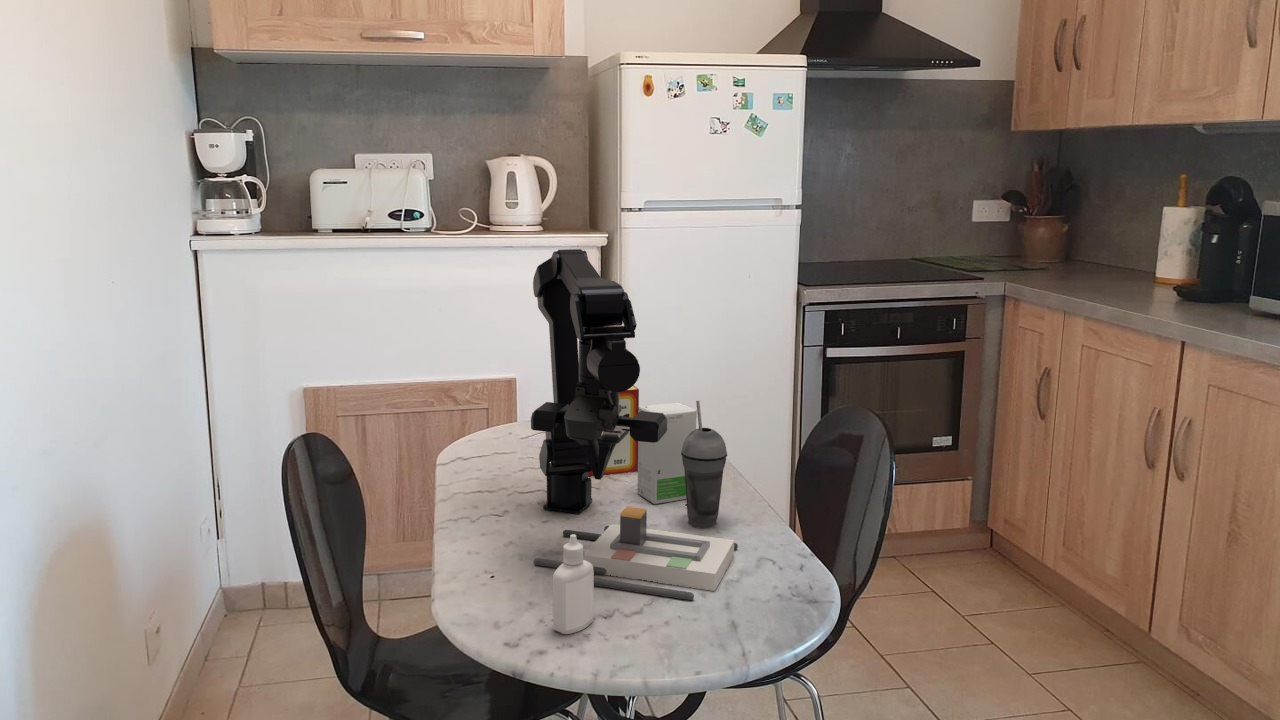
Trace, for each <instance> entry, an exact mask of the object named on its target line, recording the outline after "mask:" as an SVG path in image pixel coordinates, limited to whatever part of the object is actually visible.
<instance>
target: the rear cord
mask: <svg viewBox="0 0 1280 720" xmlns="http://www.w3.org/2000/svg"><path fill="white" fill-rule="evenodd" d="M609 526H610V525H606V526H604V529H603V530H604V531H605V530H606V529H607V528H608V527H609ZM572 534H574V535H576V538H577V539H583V540H590V541H596V540H597V539H598V538H599V537H600V536H601V535H602V534H603V533H602V534H600V533H593V532H588V531H587V532H586V531H577V530H570V529H564V530H563V531H562V536H564V537H568V538H570V535H572ZM738 546H739V545H738V543H736V542H734V550H737V549H738Z"/></svg>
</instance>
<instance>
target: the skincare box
mask: <svg viewBox="0 0 1280 720" xmlns="http://www.w3.org/2000/svg"><path fill="white" fill-rule="evenodd" d="M640 411H646V412H657V413H663V414H664V415H665V417H666V418H667V432H666V433H665V434H664V435H663V436H662V438H661V439H660V440H659V441H658V442H654V443H651V442H641V441H638V472H637V486H636V487H637V488H636V490H637V491H636V493H637V494H638V495H639V496H640V497H642V498H643V499H644V500H645V499H646V500H647V501H648V502H649V503H652V504H654V505H657V504H662V503H669V502H676V501H681V500H682V501H683V500H686V485H685V470H684V466H683V461H682V455H681V451H682V447H683V443H684V441H685V439H686V437H687V436H688V435H689V434H690V433H691V432H692V431H694V430H696V429H697V420H698V415H697V409H695V408H693V407H691V406H687V405H684V404H682V403H680V402H673V403H656V404H650V405H649V404H648V405H639V412H640Z"/></svg>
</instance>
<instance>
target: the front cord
mask: <svg viewBox="0 0 1280 720" xmlns="http://www.w3.org/2000/svg"><path fill="white" fill-rule="evenodd" d="M562 563H564V561H562V560H561V561H560V560H555V559H554V560H553V559H547V558H541V557H535V558H534V559H533V564H534V565H535V566H541V567H546V568H547V567H548V568H555V569H557V568H558V567H559V566H560V565H561V564H562ZM593 571H594V575H595V574H596V575H602V576H606V575H605V574H606V569H605V568H601V567H594V566H593ZM594 587H601V588H602V587H603V588H609V589H614V590H615V589H616V590H622V591H623V590H624V591H629V592H634V593H635V592H636V593H640V594H641V593H642V594H649V595H656V596H661V597H668V598H673V599H675V598H676V599H681V600H688V601H691V600H694V598H695V594H694V593H693V592H691V591H685V590H680V589H679V590H677V589H671V588H666V587H657V586H651V585H644V584H638V583H631V582H625V581H617V580H610V579H605V578H598V577H594Z"/></svg>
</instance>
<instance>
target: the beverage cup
mask: <svg viewBox="0 0 1280 720" xmlns="http://www.w3.org/2000/svg"><path fill="white" fill-rule="evenodd" d="M695 403H696V404H695V405H696V410H697V423H698V425H697V426H698V428H696V430H694V431H692V432H691V433H690V434H689V435H688V436H687V437H686V439H685V441H684V443H683V447H682V451H681V455H682V461H683V466H684V470H685V485H686V499H685V500H686V513H687V518H688V522H687V524H689V525H688V526H691V527H692V528H693V527H694V528H698V529H710V528H714V527H715V526H717V523H718V521H717V520H718V516H719V510H720V502H721V493H722V485H723V477H724V476H723V475H724V470H725V469H724V468H725V466H726V461H727V457H728V452H727V446H726V442H725V440H724V439H723V437H722V435H721V434H720V433H719V432H717V431H716V430H715V429H713V428H710V427H703V424H702V414H701V404H700V400H696V401H695Z"/></svg>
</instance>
